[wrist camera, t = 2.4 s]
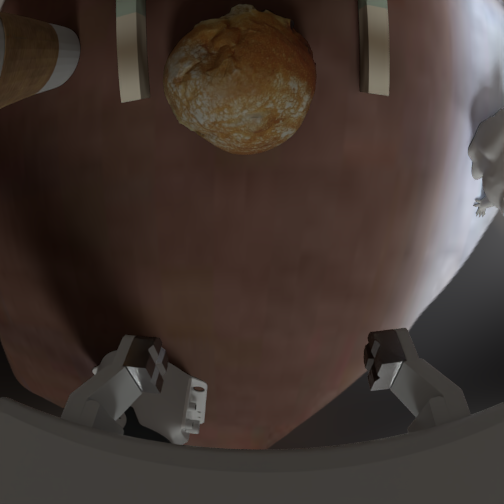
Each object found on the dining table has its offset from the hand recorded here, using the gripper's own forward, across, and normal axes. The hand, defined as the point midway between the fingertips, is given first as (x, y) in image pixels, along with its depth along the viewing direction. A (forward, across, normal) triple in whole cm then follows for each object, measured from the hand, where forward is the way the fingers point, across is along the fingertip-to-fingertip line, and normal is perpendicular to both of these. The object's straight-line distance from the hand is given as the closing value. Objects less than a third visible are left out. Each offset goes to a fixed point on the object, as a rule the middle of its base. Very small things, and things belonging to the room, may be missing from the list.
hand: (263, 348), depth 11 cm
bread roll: (+16, 0, -11) cm, 20 cm away
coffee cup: (+16, +17, -15) cm, 28 cm away
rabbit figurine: (+16, -21, -4) cm, 27 cm away
